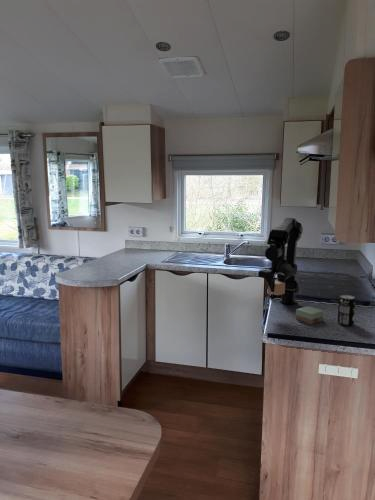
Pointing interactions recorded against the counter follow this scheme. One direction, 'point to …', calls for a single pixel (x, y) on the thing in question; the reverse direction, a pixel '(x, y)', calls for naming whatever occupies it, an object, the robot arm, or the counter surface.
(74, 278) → the counter surface
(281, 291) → the tan cube
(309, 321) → the walnut slab
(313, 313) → the sage slab
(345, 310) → the beverage can
